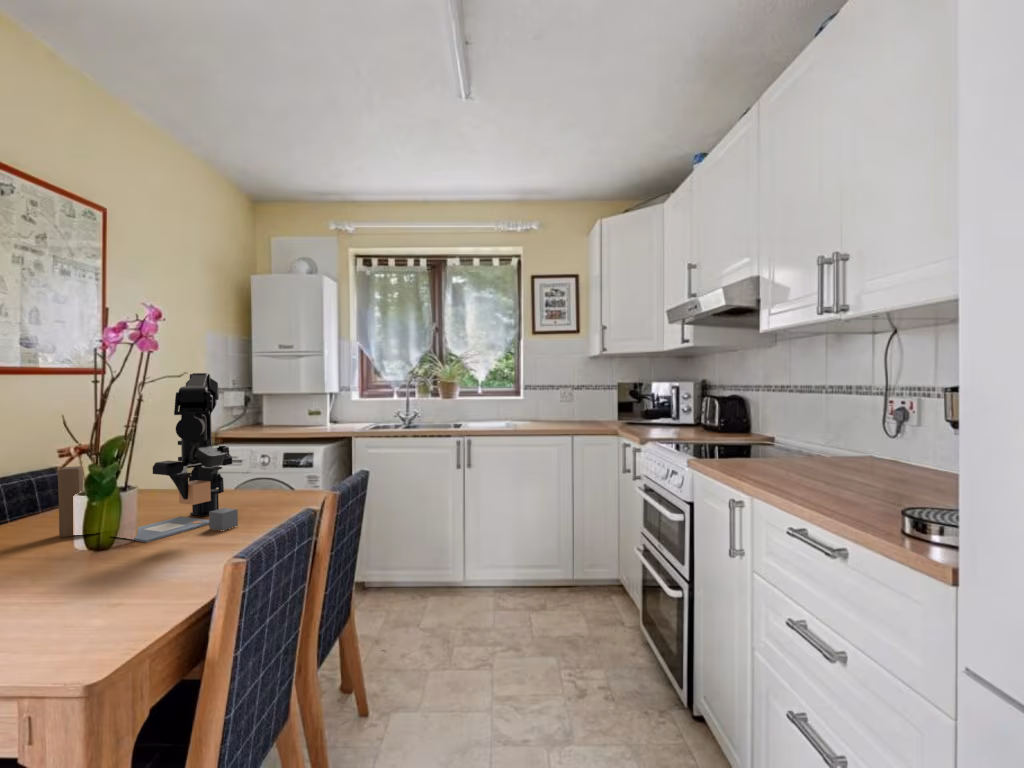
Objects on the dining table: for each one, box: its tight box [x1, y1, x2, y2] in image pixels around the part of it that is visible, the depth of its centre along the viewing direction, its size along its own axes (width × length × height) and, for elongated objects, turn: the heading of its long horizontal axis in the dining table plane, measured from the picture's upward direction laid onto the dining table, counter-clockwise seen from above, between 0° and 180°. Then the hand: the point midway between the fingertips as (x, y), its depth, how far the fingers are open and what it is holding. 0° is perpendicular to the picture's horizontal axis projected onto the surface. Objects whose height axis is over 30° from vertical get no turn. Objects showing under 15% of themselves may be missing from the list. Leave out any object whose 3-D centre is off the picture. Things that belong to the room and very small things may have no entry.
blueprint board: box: [133, 516, 209, 543], centre depth 155 cm, size 20×14×1 cm
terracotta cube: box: [178, 480, 211, 506], centre depth 144 cm, size 5×5×5 cm
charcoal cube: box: [208, 507, 239, 532], centre depth 156 cm, size 5×5×5 cm
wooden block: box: [57, 465, 84, 539], centre depth 151 cm, size 9×4×18 cm, turn 115°
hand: (195, 497), depth 144 cm, fingers closed on terracotta cube, 5 cm apart
